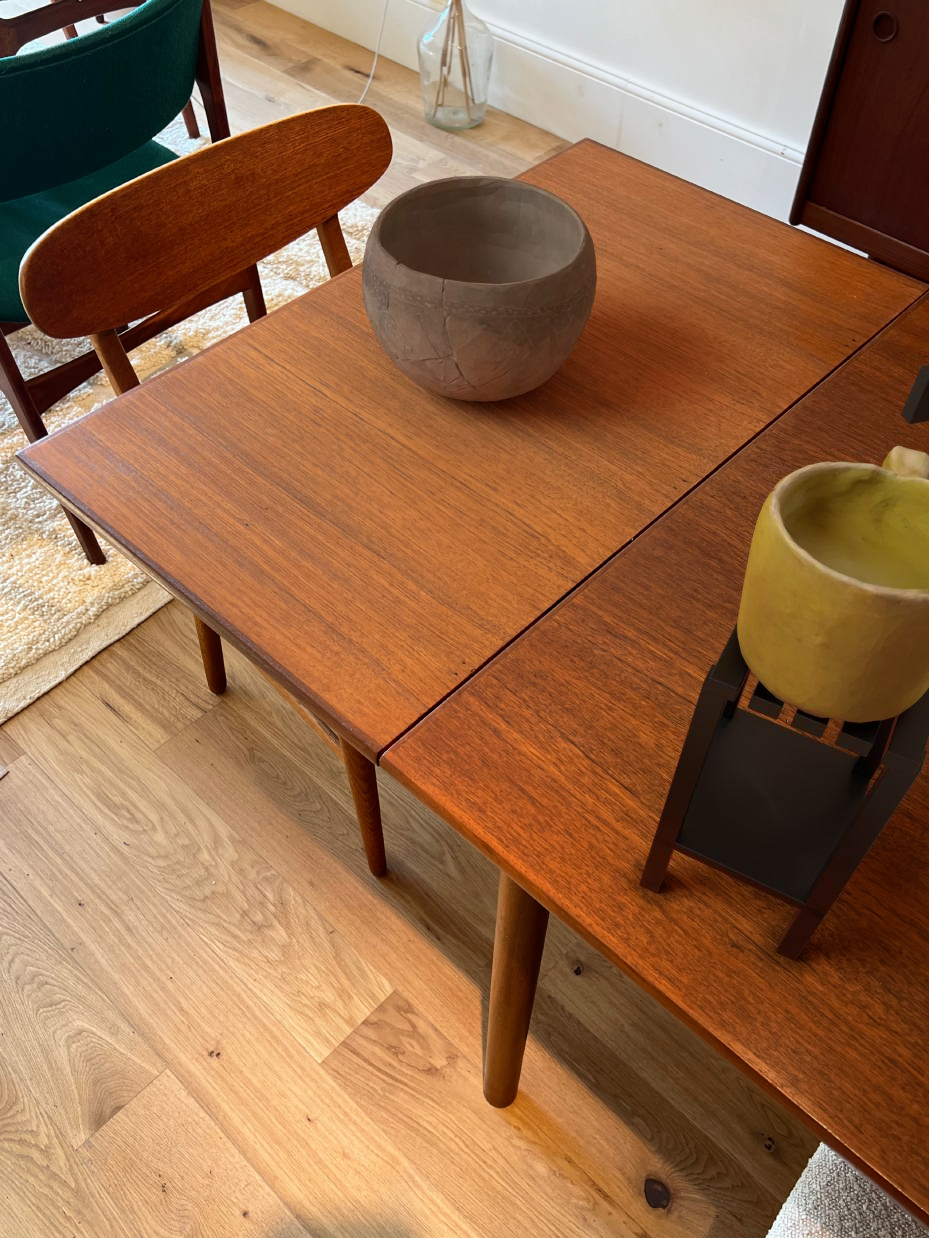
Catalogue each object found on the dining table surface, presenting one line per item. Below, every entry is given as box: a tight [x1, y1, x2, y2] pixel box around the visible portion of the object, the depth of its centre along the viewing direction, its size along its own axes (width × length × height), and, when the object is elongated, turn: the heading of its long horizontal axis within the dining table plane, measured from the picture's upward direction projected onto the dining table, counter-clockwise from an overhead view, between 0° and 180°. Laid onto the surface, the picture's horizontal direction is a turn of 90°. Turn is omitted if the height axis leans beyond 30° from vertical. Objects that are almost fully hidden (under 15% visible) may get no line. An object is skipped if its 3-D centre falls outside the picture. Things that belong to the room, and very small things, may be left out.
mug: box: [736, 445, 929, 723], centre depth 44 cm, size 12×10×10 cm
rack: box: [638, 622, 929, 962], centre depth 55 cm, size 10×11×21 cm
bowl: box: [361, 175, 598, 402], centre depth 90 cm, size 21×21×15 cm
